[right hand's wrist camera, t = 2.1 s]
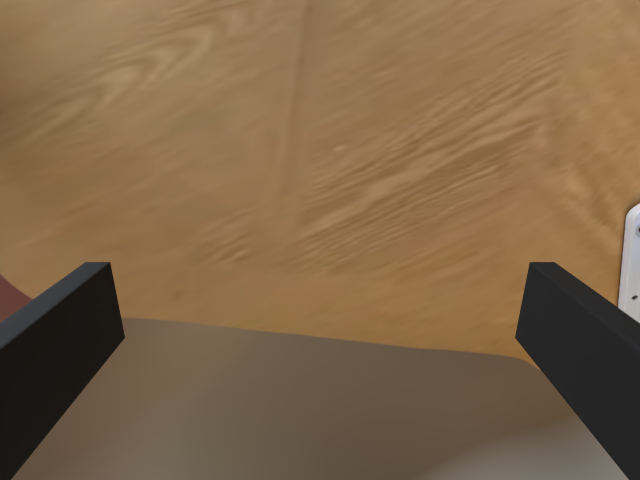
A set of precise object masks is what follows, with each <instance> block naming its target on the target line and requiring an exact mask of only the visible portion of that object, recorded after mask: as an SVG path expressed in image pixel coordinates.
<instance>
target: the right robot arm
mask: <svg viewBox="0 0 640 480" xmlns="http://www.w3.org/2000/svg"><path fill="white" fill-rule="evenodd" d="M124 338H125V336H124V331H123V326H122V320H121V315H120V310H119V305H118V300H117V295H116V290H115V285H114V280H113V275H112V269H111V264H110V262H85V263H84V264H82V265H81V266H80V267H78V268H77V269H75V270H74V271H73V272H71V273H70V274H68V275H67V276H66V277H64V278H63V279H61V280H60V281H59V282H57V283H56V284H54V285H53V286H52V287H50V288H49V289H47V290H46V291H45V292H43V293H42V294H40V295H39V296H38V297H36V298H35V299H33V300H32V301H31V302H29V303H28V304H26V305H25V306H24V307H22V308H21V309H19V310H18V311H17V312H15V313H14V314H12V315H11V316H10V317H8V318H7V319H5V320H4V321H3V322H1V323H0V480H11V479H12V478H13V476H14V475H15V474H16V473H17V471H18V470H19V469H20V468H21V466H22V465H23V464H24V463H25V461H26V460H27V459H28V458H29V456H30V455H31V454H32V453H33V451H34V450H35V449H36V448H37V446H38V445H39V444H40V443H41V441H42V440H43V439H44V438H45V437H46V435H47V434H48V433H49V431H50V430H51V429H52V428H53V427H54V425H55V424H56V423H57V422H58V420H59V419H60V418H61V417H62V415H63V414H64V413H65V412H66V410H67V409H68V408H69V407H70V405H71V404H72V403H73V402H74V400H75V399H76V398H77V397H78V395H79V394H80V393H81V392H82V390H83V389H84V388H85V387H86V385H87V384H88V383H89V382H90V380H91V379H92V378H93V377H94V376H95V374H96V373H97V372H98V371H99V369H100V368H101V367H102V365H103V364H104V363H105V362H106V361H107V359H108V358H109V357H110V356H111V354H112V353H113V352H114V350H115V349H116V348H117V347H118V346H119V344H120V343H121V342H122V341H123V339H124ZM515 338H516V339H517V341H518V342H519V343H520V344H521V346H522V347H523V348H524V349H525V351H526V352H527V353H528V354H529V356H530V357H531V358H532V359H533V361H534V362H535V363H536V364H537V366H538V367H539V368H540V369H541V371H542V372H543V373H544V374H545V376H546V377H547V378H548V379H549V380H550V382H551V383H552V384H553V385H554V387H555V388H556V389H557V390H558V392H559V393H560V394H561V395H562V397H563V398H564V399H565V400H566V402H567V403H568V404H569V405H570V407H571V408H572V409H573V410H574V412H575V413H576V414H577V415H578V417H579V418H580V419H581V420H582V422H583V423H584V424H585V425H586V427H587V428H588V429H589V430H590V432H591V433H592V434H593V435H594V437H595V438H596V439H597V440H598V442H599V443H600V444H601V445H602V446H603V448H604V449H605V450H606V451H607V453H608V454H609V455H610V456H611V458H612V459H613V460H614V461H615V463H616V464H617V465H618V466H619V468H620V469H621V470H622V471H623V473H624V474H625V475H626V476H627V478H628V479H629V480H640V323H639V322H637V321H636V320H635V319H633V318H632V317H630V316H629V315H628V314H626V313H625V312H623V311H622V310H621V309H619V308H618V307H616V306H615V305H614V304H612V303H611V302H609V301H608V300H607V299H605V298H604V297H602V296H601V295H600V294H598V293H597V292H595V291H594V290H593V289H591V288H590V287H588V286H587V285H586V284H584V283H583V282H581V281H580V280H579V279H577V278H576V277H574V276H573V275H572V274H570V273H569V272H567V271H566V270H565V269H563V268H562V267H560V266H559V265H558V264H556V263H555V262H530V264H529V269H528V274H527V280H526V285H525V290H524V295H523V300H522V305H521V310H520V315H519V320H518V325H517V331H516V336H515Z"/></svg>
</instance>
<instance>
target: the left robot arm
mask: <svg viewBox="0 0 640 480" xmlns="http://www.w3.org/2000/svg"><path fill="white" fill-rule="evenodd" d="M639 228H640V203H639V204H638V205H636V206H635V207H633V208H632V209H631V210H630V211H629V212H628V214H627V216H626V223H625V234H624V245H623V256H622V268H621V279H620V290H619V302H618V308H619V309H621V310H622V311H623V312H625V313H626V314H628V315H629V316H630V317H632V318H633V319H635V320H636V321H637V322H639V323H640V230H639Z"/></svg>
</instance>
